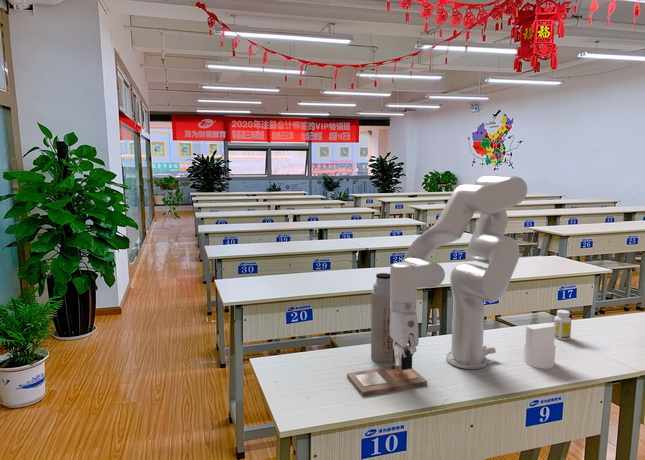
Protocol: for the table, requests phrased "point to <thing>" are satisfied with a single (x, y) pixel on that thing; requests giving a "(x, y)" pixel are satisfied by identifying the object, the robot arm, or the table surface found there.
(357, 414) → the table surface
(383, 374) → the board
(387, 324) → the thermos bottle
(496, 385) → the table surface
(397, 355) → the milkshake
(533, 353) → the base with upright slab
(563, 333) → the supplement bottle
